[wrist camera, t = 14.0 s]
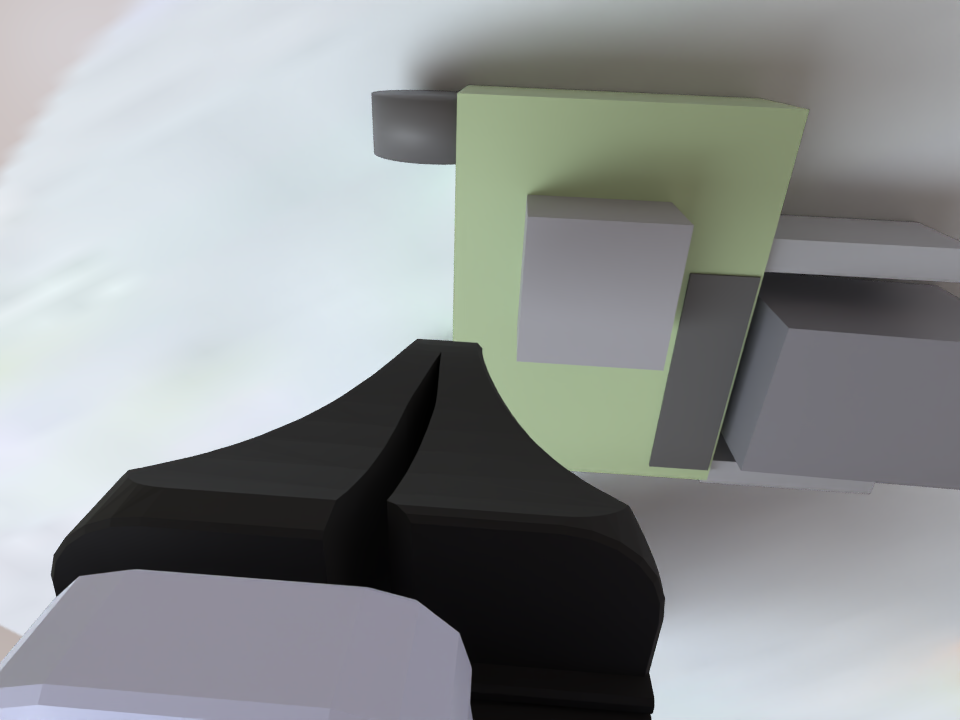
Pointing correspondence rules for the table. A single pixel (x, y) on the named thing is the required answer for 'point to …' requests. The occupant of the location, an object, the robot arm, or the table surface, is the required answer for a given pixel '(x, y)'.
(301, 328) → the table surface
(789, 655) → the table surface
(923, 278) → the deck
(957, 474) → the grey block
